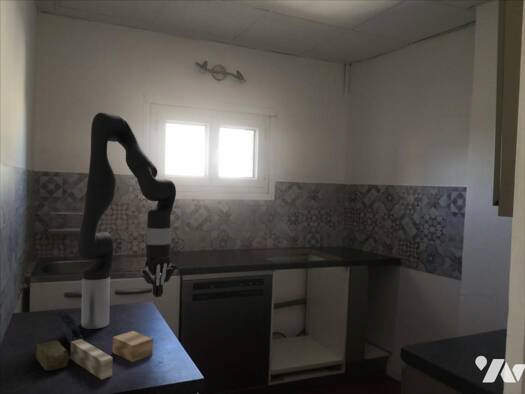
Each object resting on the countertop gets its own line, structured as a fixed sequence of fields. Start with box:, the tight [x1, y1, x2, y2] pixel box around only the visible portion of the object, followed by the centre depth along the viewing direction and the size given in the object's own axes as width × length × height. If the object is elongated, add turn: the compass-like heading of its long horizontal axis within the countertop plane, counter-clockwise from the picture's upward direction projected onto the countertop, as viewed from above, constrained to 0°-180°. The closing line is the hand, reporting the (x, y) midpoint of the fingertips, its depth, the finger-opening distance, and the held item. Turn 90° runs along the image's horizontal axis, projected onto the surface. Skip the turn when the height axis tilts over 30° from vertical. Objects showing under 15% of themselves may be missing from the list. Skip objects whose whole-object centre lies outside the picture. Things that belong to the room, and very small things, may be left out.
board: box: [70, 339, 113, 380], centre depth 113 cm, size 18×3×5 cm, turn 49°
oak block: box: [112, 330, 154, 363], centre depth 123 cm, size 10×7×5 cm
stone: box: [54, 309, 85, 345], centre depth 128 cm, size 14×6×10 cm, turn 66°
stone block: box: [35, 340, 69, 372], centre depth 114 cm, size 6×12×5 cm, turn 43°
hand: (157, 296), depth 129 cm, fingers closed
